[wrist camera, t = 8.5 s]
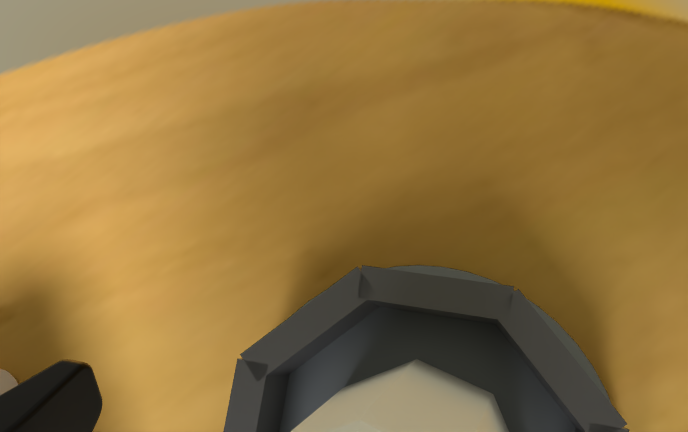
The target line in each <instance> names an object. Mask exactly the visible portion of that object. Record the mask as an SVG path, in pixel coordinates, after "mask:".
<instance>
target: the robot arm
mask: <svg viewBox="0 0 688 432" xmlns="http://www.w3.org/2000/svg"><path fill="white" fill-rule="evenodd" d="M101 409H102V397H101V394H100V391H99V388H98V385H97V382H96V379H95V376H94V373H93V370H92V368H91V366H90V365H88V364H87V363H84V362H78V361H73V360H62V361H59V362H57V363H55V364H54V365H52V366H50V367H48V368H47V369H45V370H43V371H41V372H40V373H38V374H36V375H34V376H33V377H31V378H29V379H27V380H26V381H24V382H22V383H20V384H19V385H17V386H15V387H13V388H12V389H10V390H8V391H7V392H5V393H3V394H1V395H0V432H92V431H93V429H94V427H95V424H96V422H97V420H98V418H99V416H100V413H101Z"/></svg>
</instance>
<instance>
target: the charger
mask: <svg viewBox="0 0 688 432" xmlns="http://www.w3.org/2000/svg"><path fill="white" fill-rule="evenodd" d="M17 385H19V384H18V383H17V381H16V379H15V378H14V377H13V376H12V375H11V374H10V373H9V372H8V371H5V370H3V369H0V395H1V394H3V393H5V392H7V391H8V390H10V389H12V388H13V387H15V386H17Z"/></svg>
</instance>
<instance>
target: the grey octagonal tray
mask: <svg viewBox="0 0 688 432" xmlns="http://www.w3.org/2000/svg"><path fill="white" fill-rule="evenodd" d="M513 289H514V286H507V285H501V284H499V283H497V282H495V281H493V280H490V279H487V278H484V277H481V276H478V275H475V274H472V273H469V272H466V271H461V270H456V269H451V268H446V267H436V266H422V265H415V266H398V267H391V268H378V267H371V266H363V265H362V269H360V268H359V267H356V268H355V269H353V270H352V271H351V272H349V273H348V274H347V275H345V276H344V277H343V278H341V279H340V280H339V281H337V282H336V283H335V284H333V285H332V286H331V287H329V288H328V289H327V290H325V291H324V292H322V293H321V294H319V295H318V296H316V297H314V298H313V299H311V300H310V301H308V302H307V303H306V304H305V305H304V306H302V307H301V308H300V309H299V310H298V311H297V312H295V313H294V314H293V315H292V316H291V317H289V318H288V319H287V320H285V321H284V322H283V323H281V324H280V325H279V326H277V327H276V328H275V329H273V330H272V331H271V332H269V333H268V334H267V335H265V336H264V337H263V338H261V339H260V340H259V341H257V342H256V343H255V344H253V345H252V346H251V347H249V348H248V349H247V350H245V351H244V352H243V353H241V354H240V355H241V357H242V358H243V359H237V364H236V369H235V375H234V380H233V385H232V390H231V396H230V401H229V406H228V411H227V416H226V422H225V427H224V432H291V431H292V430H293V429H294V428H295V427H297V426H298V425H299V424H300V423H301V422H303V421H304V420H305V419H306V418H307V417H309V416H310V415H311V414H312V413H313V412H315V411H316V410H317V409H318V408H319V407H321V406H322V405H323V404H324V403H325V402H327V401H328V400H329V399H330V398H331V397H333V396H334V395H335V394H336V393H337V392H339V391H340V390H341V389H342V388H344V387H346V386H349V385H351V384H354V383H357V382H359V381H362V380H364V379H367V378H369V377H372V376H375V375H377V374H380V373H382V372H385V371H387V370H390V369H393V368H395V367H398V366H400V365H403V364H405V363H408V362H411V361H413V360H416V359H418V360H420V361H422V362H424V363H427V364H429V365H431V366H433V367H435V368H437V369H440V370H442V371H444V372H446V373H448V374H451V375H453V376H455V377H457V378H459V379H461V380H464V381H466V382H468V383H470V384H472V385H475V386H477V387H479V388H481V389H483V390H486V391H488V392H490V393H492V394H493V395H494V397H495V399H496V402H497V404H498V407H499V409H500V411H501V414H502V416H503V419H504V421H505V423H506V426H507V428H508V431H509V432H629V429H627V428H624V426H625V425H627V423H626V422H625V420H624V419H623V418H622V417H621V416H620V414H619V413H618V412H617V411H616V409H615V408H614V407H613V406H612V404H611V402H610V399H609V397H608V394H607V392H606V390H605V388H604V386H603V384H602V382H601V380H600V379H599V377H598V375H597V373H596V371H595V369H594V368H593V366H592V364H591V363H590V362H589V360H588V359H587V358H586V356H585V355H584V353H583V352H582V351H581V349H580V348H579V346H578V345H577V344H576V342H575V341H574V340H573V339H572V338H571V337H570V336H569V335H568V334H567V333H566V332H565V331H564V329H563V328H562V327H561V326H560V325H559V324H558V323H557V322H556V321H555V320H553V319H552V318H551V317H550V316H549V315H547V314H546V313H545V312H544V311H543V310H542V309H540V308H539V307H538V306H537V305H535V304H534V303H532V302H531V301H529V300H527V299H526V298H525V297H524V295H523V294H522V293H521V292H520V290H519V289H518V290H516V291H513Z"/></svg>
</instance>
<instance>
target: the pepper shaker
mask: <svg viewBox="0 0 688 432" xmlns="http://www.w3.org/2000/svg"><path fill="white" fill-rule="evenodd" d="M291 432H509V431H508V428H507V426H506V423H505V421H504V419H503V416H502V414H501V411H500V409H499V407H498V404H497V402H496V399H495V397H494V395H493V394H492V393H490V392H488V391H486V390H483V389H481V388H479V387H477V386H475V385H472V384H470V383H468V382H466V381H464V380H461V379H459V378H457V377H455V376H453V375H451V374H448V373H446V372H444V371H442V370H440V369H437V368H435V367H433V366H431V365H429V364H427V363H424V362H422V361H420V360H418V359H416V360H413V361H411V362H408V363H405V364H403V365H400V366H398V367H395V368H393V369H390V370H387V371H385V372H382V373H380V374H377V375H375V376H372V377H369V378H367V379H364V380H362V381H359V382H357V383H354V384H351V385H349V386H346V387H344V388H342V389H341V390H340V391H339V392H337V393H336V394H335V395H334V396H333V397H331V398H330V399H329V400H328V401H327V402H325V403H324V404H323V405H322V406H321V407H319V408H318V409H317V410H316V411H315V412H313V413H312V414H311V415H310V416H309V417H307V418H306V419H305V420H304V421H303V422H301V423H300V424H299V425H298V426H297V427H295V428H294V429H293V430H292V431H291Z"/></svg>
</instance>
